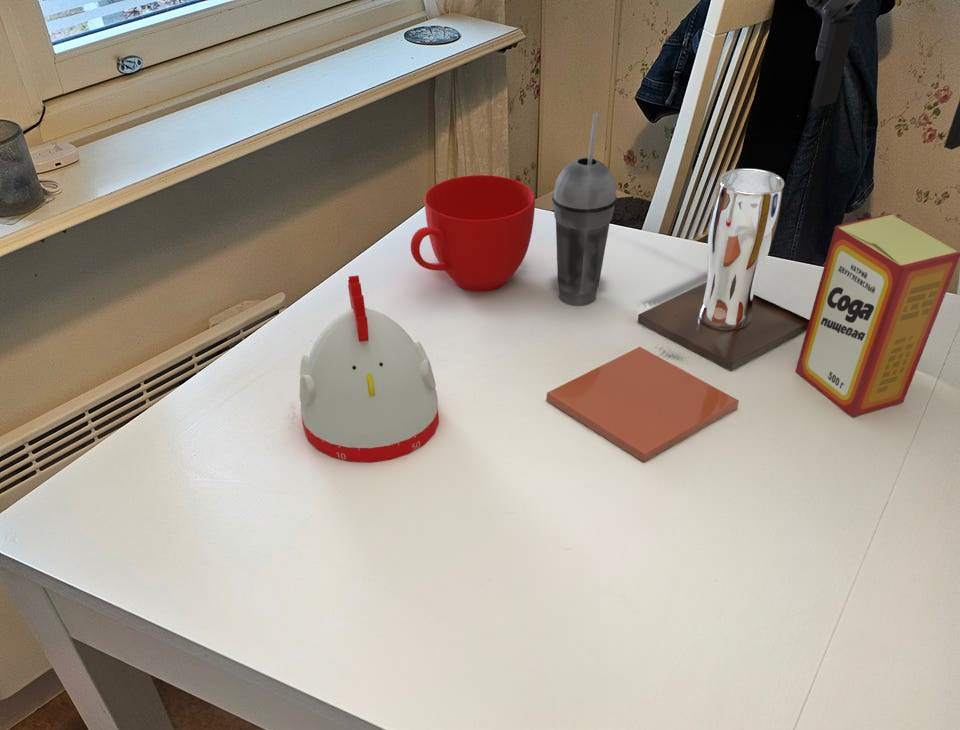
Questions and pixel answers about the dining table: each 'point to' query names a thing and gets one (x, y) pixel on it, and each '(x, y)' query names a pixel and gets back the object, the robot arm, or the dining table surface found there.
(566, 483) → the dining table surface
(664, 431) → the terracotta tile
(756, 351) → the walnut board
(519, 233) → the ceramic cup
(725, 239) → the beer glass
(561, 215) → the beverage cup
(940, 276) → the baking soda box
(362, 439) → the kitchen timer
